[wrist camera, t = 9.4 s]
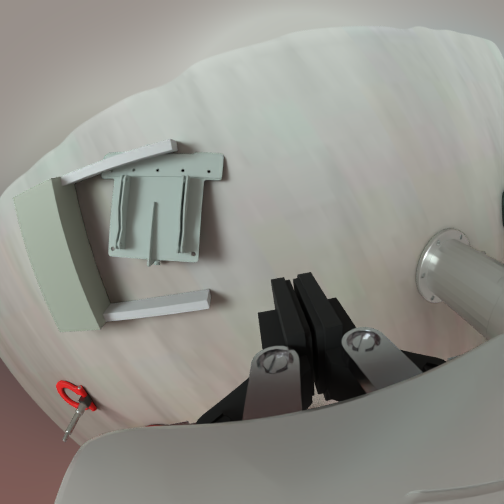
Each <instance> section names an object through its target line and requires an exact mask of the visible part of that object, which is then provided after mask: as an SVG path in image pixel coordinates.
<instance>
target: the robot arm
mask: <svg viewBox="0 0 504 504" xmlns="http://www.w3.org/2000/svg"><path fill="white" fill-rule="evenodd" d="M416 283H417V288H418V291H419V293H420V294H421V296H422V297H423V298H425V299H426V300H427V301H429V302H432V303H439V302H442V301H443V302H444V303H446V304H447V305H448V306H449V307H450V308H452V309H453V310H454V311H455V312H456V313H458V314H459V315H460V316H461V317H462V318H463V319H465V320H466V321H467V322H468V323H469V324H470V325H471V326H473V327H474V328H475V329H476V330H477V331H478V332H479V333H480V334H482V335H483V336H484V337H485V338H486V339H487V340H488V341H487V342H485V343H483V344H481V345H479V346H477V347H475V348H473V349H472V350H470V351H468V352H466V353H464V354H462V355H459V356H455V357H451V358H448V359H447V362H446V361H444V360H443V359H439V358H436V357H431V356H426V355H421V354H416V353H412V352H407V351H403V350H399V349H398V348H397V347H396V346H395V345H394V344H393V343H392V342H391V341H390V340H389V339H388V338H387V337H386V336H385V335H384V334H383V333H381V332H380V331H378V330H376V329H374V328H369V327H359V328H356V327H355V325H354V324H353V322H352V321H351V319H350V318H349V316H348V315H347V313H346V312H345V310H344V309H343V307H342V306H341V304H340V303H339V301H338V300H337V298H331V299H327V298H326V296H325V294H324V293H323V291H322V289H321V288H320V286H319V285H318V283H317V281H316V280H315V278H314V277H313V275H312V273H311V272H309V273H304V274H299V275H298V276H297V278H296V279H293V284H294V289H293V287H292V284H291V282H290V280H285V279H284V277H283V278H277V279H272V280H271V285H272V291H273V298H274V304H275V310H271V311H265V312H260V313H258V318H259V325H260V333H261V341H262V348H263V350H261V351H260V352H258V353H257V354H256V355H255V356H254V357H253V360H252V362H251V369H250V375H249V378H248V379H247V380H246V381H244V382H243V383H242V384H241V385H240V386H238V387H237V388H236V389H235V390H234V391H232V392H231V393H230V394H229V395H227V396H226V397H225V398H224V399H223V400H221V401H220V402H219V403H217V404H216V405H215V406H214V407H212V408H211V409H210V410H209V411H207V412H206V413H205V414H203V415H202V416H201V417H200V418H199V419H198V421H197V422H196V423H191V424H190V423H189V421H185V422H180V423H175V424H170V425H165V426H149V427H136V428H129V429H122V430H117V431H113V432H109V433H105V434H102V435H99V436H96V437H94V438H92V439H90V440H88V441H87V442H85V443H84V444H83V445H82V446H81V448H80V449H79V450H78V452H77V453H76V455H75V456H74V458H73V460H72V461H71V463H70V465H69V467H68V469H67V471H66V474H65V476H64V478H63V481H62V483H61V486H60V489H59V492H58V494H57V497H56V501H55V503H54V504H504V264H503V263H501V262H499V261H497V260H496V259H494V258H492V257H490V256H488V255H486V253H485V252H484V251H481V252H480V251H478V250H476V249H474V248H472V247H470V244H469V241H468V239H467V237H466V236H465V234H464V233H462V232H461V231H459V230H456V229H452V228H449V229H444V230H442V231H440V232H439V233H437V234H436V235H435V236H434V237H433V238H432V239H431V240H430V241H429V243H428V244H427V245H426V247H425V249H424V251H423V253H422V255H421V257H420V260H419V263H418V267H417V273H416ZM314 383H315V386H316V389H317V392H318V394H322V393H323V394H324V397H325V400H326V401H328V400H332V399H333V400H336V401H339V402H337V403H333V404H329V405H325V406H321V407H317V408H312V409H308V410H307V408H308V407H309V406H310V405H311V404H312V396H313V395H314Z"/></svg>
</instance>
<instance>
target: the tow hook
mask: <svg viewBox="0 0 504 504" xmlns="http://www.w3.org/2000/svg"><path fill="white" fill-rule="evenodd" d="M56 388H57V391H58V393H59V394H60V396H61V397H62V398H63V399H64V400H65V401H66V402H67V403H69V404H70V405H72V406H73V407H75V408H77V409H76V411H75V412H76V413H75V414H74V416H73V418H72V420H71V422H70V424H69V425H68V427H67V429H66V431H65V432H66V433H65V435H64V438H63V441H64V442H66V441H67V439H68V437H69V435H71V433H72V431H73V429H74V428H75V426H76V424H77V422H78V420H79V418H80V416H81V415H83V413H84V411H85V410H87V409H88V408H89V409H91V410H92V411H95V410H96V409H97V407H96V406H95V405H94V403H93V402H92V400H91V398H90V397H89V395H88V394H87V393H86V391H85V390H84V388H83V387H82V386H81V385H79V386H78V387H77V386H74V385H73V384H71V383H69V382H66V381H59V382H58V383H57V385H56ZM63 388H68V389H70V390H72V391H73V392H75V393H76V394H77V395H81V397H80V399H79V400H78V401H79V402H80V403H76V402H74V401H73V400H71V399H70V398H69V397H68V396H67V395H66V394H65V393H64V391H63Z"/></svg>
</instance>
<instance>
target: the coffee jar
mask: <svg viewBox="0 0 504 504" xmlns="http://www.w3.org/2000/svg"><path fill="white" fill-rule="evenodd" d="M502 213H503V226H504V192H503V196H502Z"/></svg>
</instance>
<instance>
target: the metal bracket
mask: <svg viewBox="0 0 504 504" xmlns="http://www.w3.org/2000/svg"><path fill="white" fill-rule="evenodd" d="M121 153H124V152H113V153H108V154H107V155H105V157H104V159H107V158H110V157H112V156H115V155H118V154H121ZM223 160H224V156H223V155H222V154H221V153H207V152H195V153H194V154H163V155H159V156H155V157H151V158H148V159H144V160H141V161H137V162H134V163H131V164H127V165H124V166H121V167H118V168H114V169H111V170H113V172H111V170H108V171H105V172H102V173H101V176H102V178H103V179H114V189H113V197H112V207H111V218H110V232H109V256H113V257H126V258H139V259H148V261H147V266H151V265H152V264H153V263H154V262H155V263H154V265H160V264H159V263H160V260H167V261H182V262H197V261H198V258H199V240H200V225H201V212H202V199H203V188H204V181H205V180H221V179H222V171H223ZM134 169H135V172H133V170H134ZM157 169H159V171H158V172H157V171H156V170H157ZM183 169H184V172H181V171H182V170H183ZM208 170H210V171H211V172H210V173H208V172H207V171H208ZM112 247H114V248H115V250H114V251H112V249H111V248H112ZM192 252H195V253H196V255H195V256H192V255H191V253H192Z"/></svg>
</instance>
